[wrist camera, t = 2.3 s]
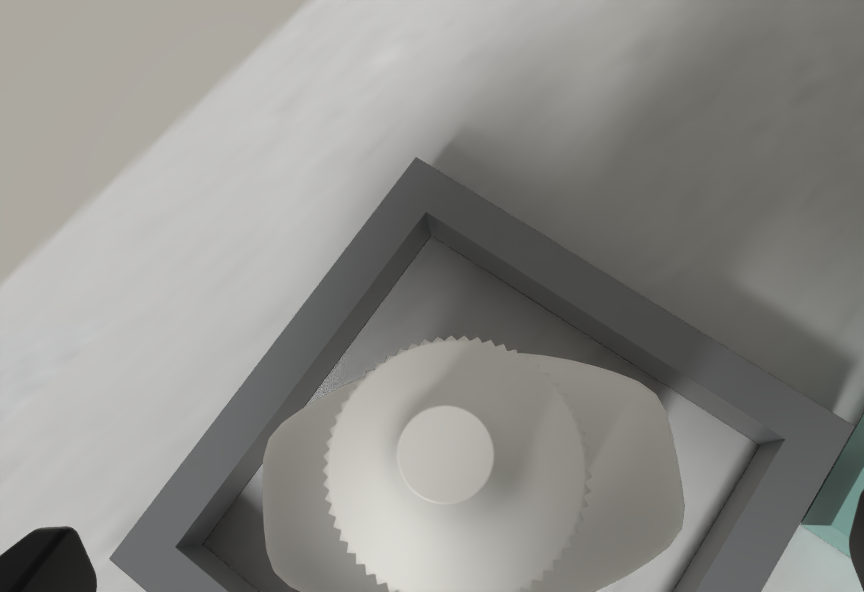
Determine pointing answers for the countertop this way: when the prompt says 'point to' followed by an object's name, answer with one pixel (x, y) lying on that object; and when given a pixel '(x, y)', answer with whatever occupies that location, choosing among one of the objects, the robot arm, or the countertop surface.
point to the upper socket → (554, 290)
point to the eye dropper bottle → (472, 477)
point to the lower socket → (840, 495)
